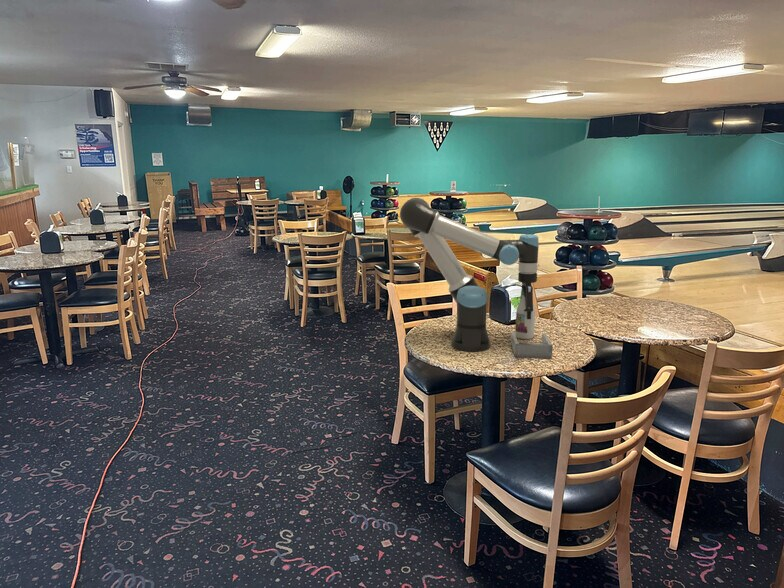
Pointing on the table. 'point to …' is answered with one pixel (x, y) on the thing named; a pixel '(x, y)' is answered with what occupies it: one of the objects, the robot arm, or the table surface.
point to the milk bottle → (523, 321)
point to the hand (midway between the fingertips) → (525, 321)
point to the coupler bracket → (532, 348)
